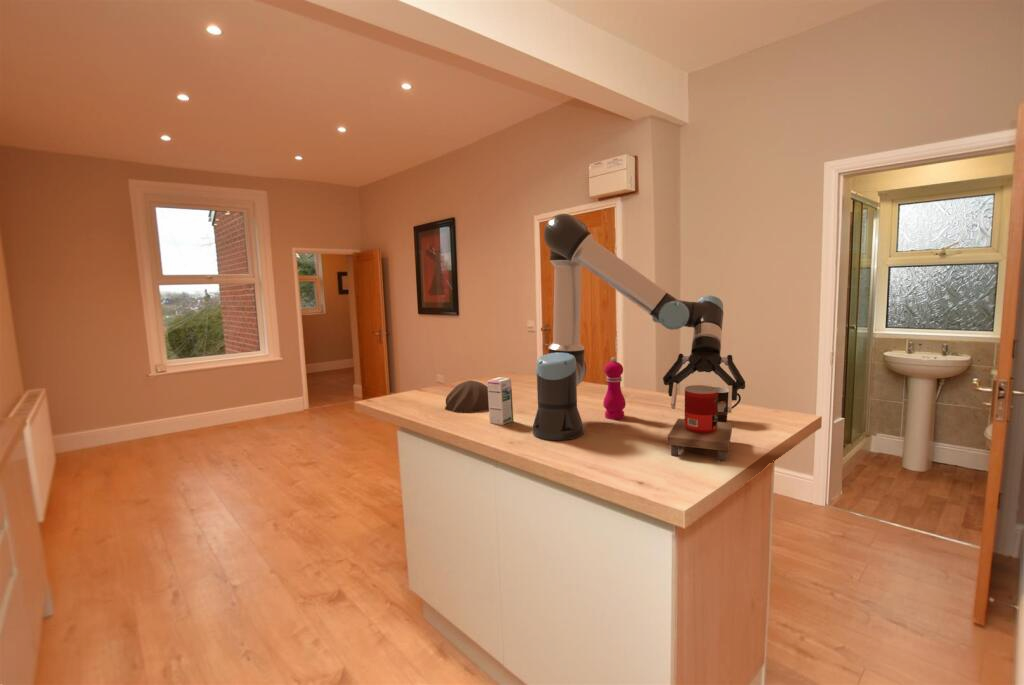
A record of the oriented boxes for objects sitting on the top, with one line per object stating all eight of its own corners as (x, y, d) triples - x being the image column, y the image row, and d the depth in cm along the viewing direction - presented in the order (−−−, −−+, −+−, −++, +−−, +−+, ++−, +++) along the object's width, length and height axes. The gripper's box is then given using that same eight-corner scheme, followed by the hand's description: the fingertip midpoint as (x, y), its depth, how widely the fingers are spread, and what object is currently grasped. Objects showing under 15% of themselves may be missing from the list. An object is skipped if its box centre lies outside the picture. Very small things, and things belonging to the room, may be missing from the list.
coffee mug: (700, 423, 148) (700, 392, 147) (700, 416, 156) (700, 386, 155) (742, 426, 144) (742, 393, 143) (740, 419, 152) (740, 387, 151)
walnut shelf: (667, 456, 122) (667, 436, 121) (677, 435, 138) (677, 418, 137) (728, 463, 116) (728, 442, 115) (731, 440, 132) (732, 423, 131)
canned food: (720, 434, 122) (721, 391, 121) (686, 433, 123) (687, 391, 122) (713, 425, 129) (714, 385, 128) (682, 424, 131) (682, 384, 130)
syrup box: (503, 425, 155) (501, 381, 154) (488, 423, 159) (486, 379, 157) (513, 421, 160) (512, 378, 158) (499, 418, 163) (497, 376, 162)
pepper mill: (628, 415, 161) (628, 356, 159) (621, 420, 155) (620, 359, 153) (608, 413, 165) (607, 355, 163) (600, 418, 159) (599, 358, 157)
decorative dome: (478, 398, 197) (477, 374, 196) (506, 406, 181) (505, 380, 180) (435, 406, 186) (434, 380, 185) (461, 416, 170) (460, 388, 169)
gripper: (756, 352, 132) (754, 419, 121) (662, 350, 144) (652, 411, 132) (756, 334, 127) (755, 403, 116) (658, 334, 139) (648, 396, 127)
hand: (700, 408), depth 124 cm, fingers open, 13 cm apart
